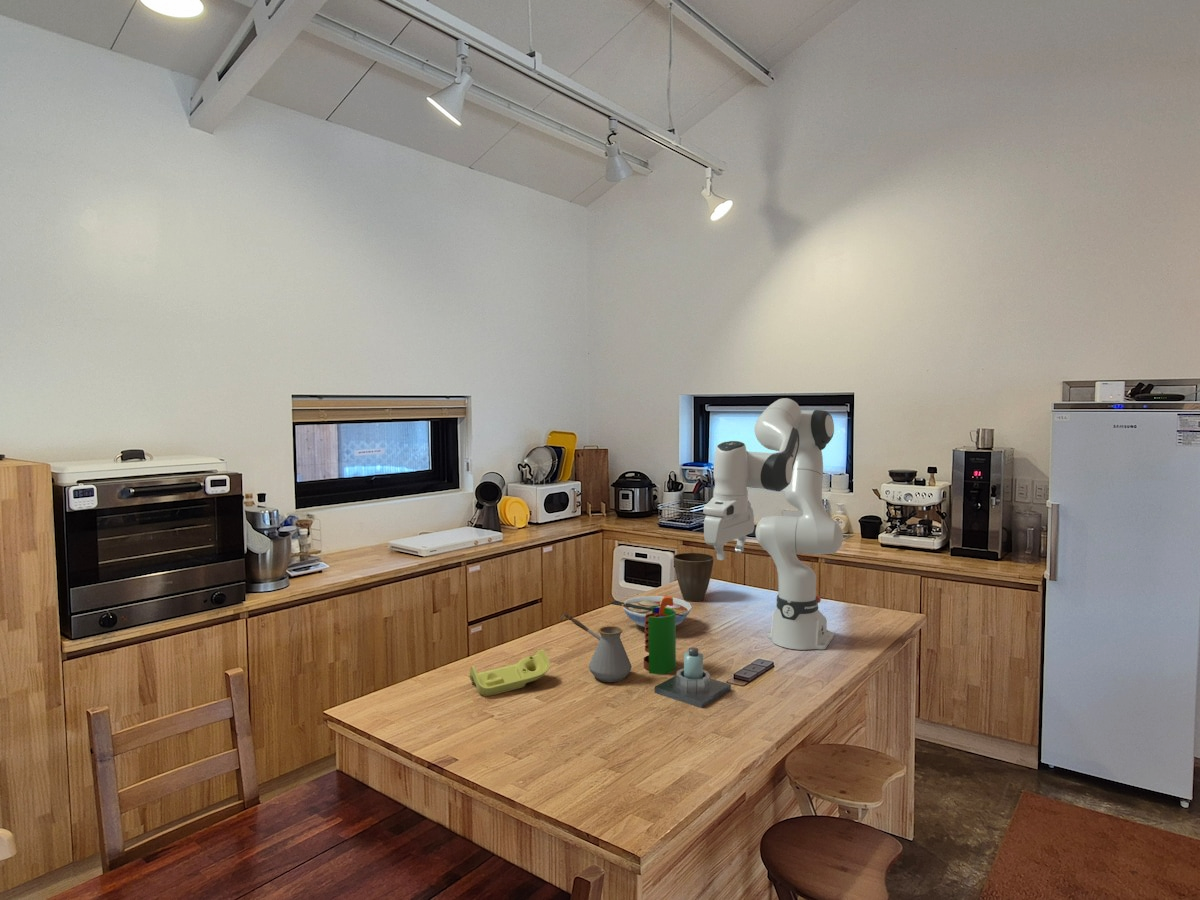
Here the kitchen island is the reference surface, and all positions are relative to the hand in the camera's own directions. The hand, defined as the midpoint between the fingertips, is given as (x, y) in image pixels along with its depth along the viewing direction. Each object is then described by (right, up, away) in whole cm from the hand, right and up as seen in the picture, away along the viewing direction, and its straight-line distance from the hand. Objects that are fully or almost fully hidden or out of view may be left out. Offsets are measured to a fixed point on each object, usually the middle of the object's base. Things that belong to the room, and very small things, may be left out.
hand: (730, 555), depth 188 cm
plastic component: (-58, -34, -2) cm, 67 cm away
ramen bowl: (-16, -30, +46) cm, 57 cm away
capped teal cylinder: (-11, -32, -6) cm, 34 cm away
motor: (-18, -33, +11) cm, 39 cm away
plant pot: (0, -28, +79) cm, 84 cm away
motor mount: (-11, -34, -5) cm, 36 cm away
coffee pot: (-36, -33, +7) cm, 49 cm away
